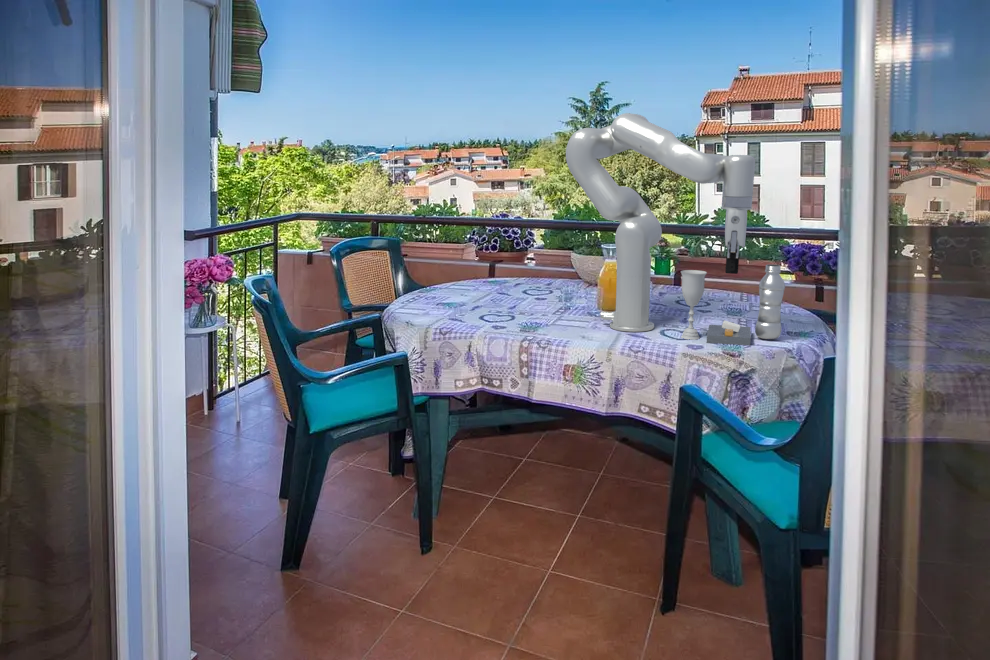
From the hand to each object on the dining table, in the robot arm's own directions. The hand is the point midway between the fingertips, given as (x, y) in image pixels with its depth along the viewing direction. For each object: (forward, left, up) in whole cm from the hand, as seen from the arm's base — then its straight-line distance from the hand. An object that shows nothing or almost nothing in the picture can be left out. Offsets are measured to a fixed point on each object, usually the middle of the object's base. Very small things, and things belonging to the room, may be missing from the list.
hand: (731, 272), depth 203 cm
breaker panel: (0, 0, -18) cm, 18 cm away
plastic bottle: (+10, +2, -18) cm, 21 cm away
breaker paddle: (0, 0, -16) cm, 16 cm away
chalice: (-10, -2, -18) cm, 21 cm away
